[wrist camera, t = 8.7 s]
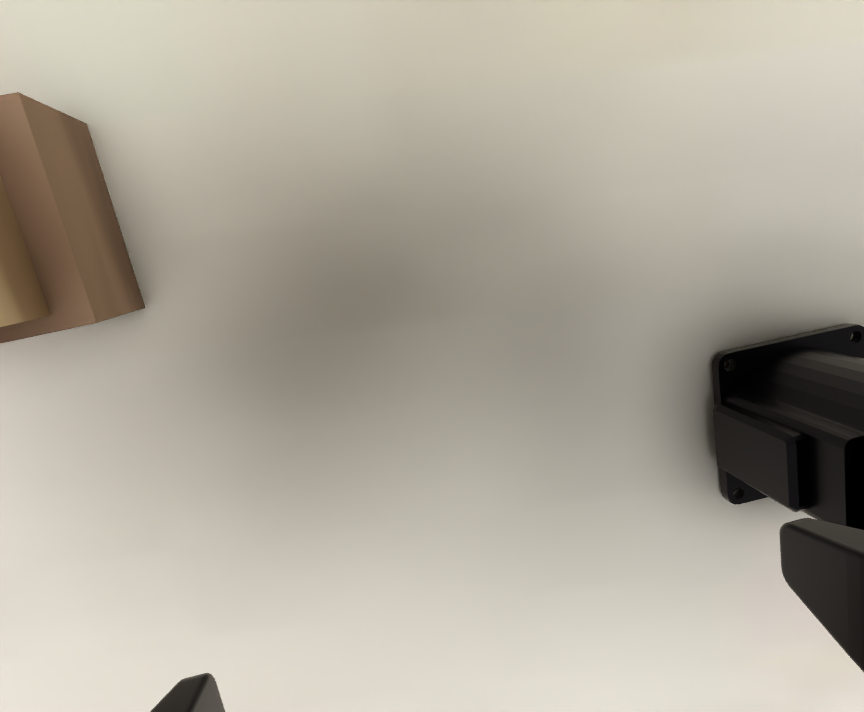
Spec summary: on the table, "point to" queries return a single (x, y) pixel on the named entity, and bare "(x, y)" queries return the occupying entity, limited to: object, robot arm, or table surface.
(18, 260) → the oak block
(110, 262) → the walnut block
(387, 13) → the table surface
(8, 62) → the table surface
